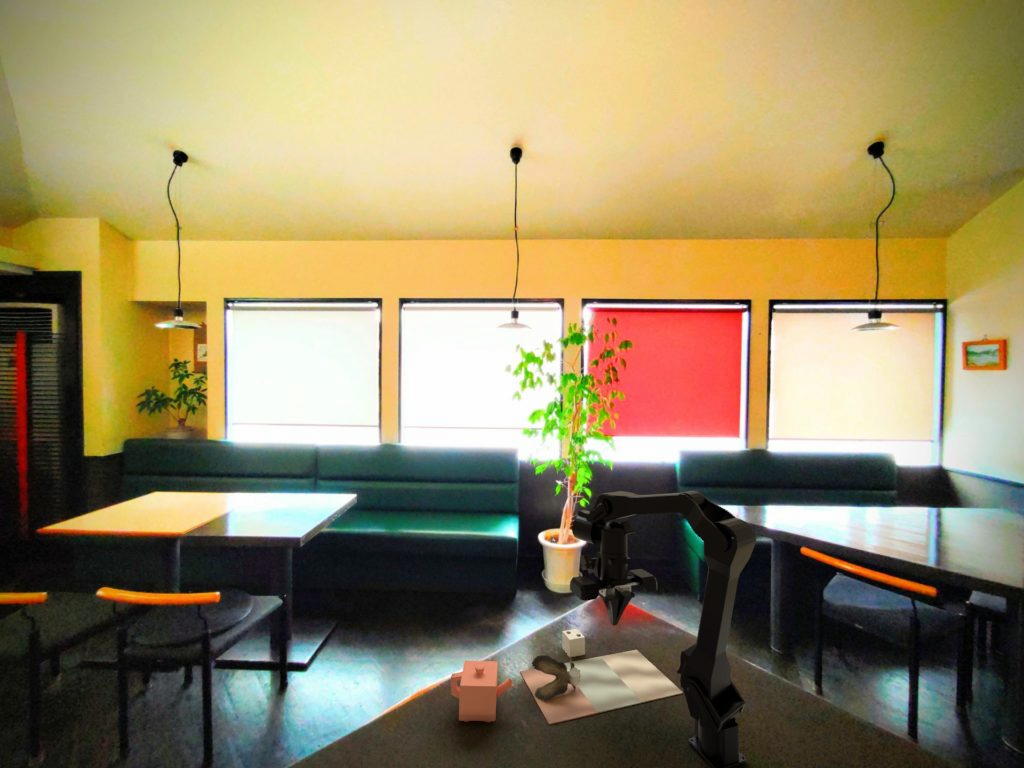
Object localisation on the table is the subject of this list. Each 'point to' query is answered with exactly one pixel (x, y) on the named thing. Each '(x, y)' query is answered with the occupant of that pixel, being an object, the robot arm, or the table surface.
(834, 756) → the table surface
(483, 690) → the pink cube teapot
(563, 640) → the die
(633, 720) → the table surface
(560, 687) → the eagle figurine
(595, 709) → the game mat
